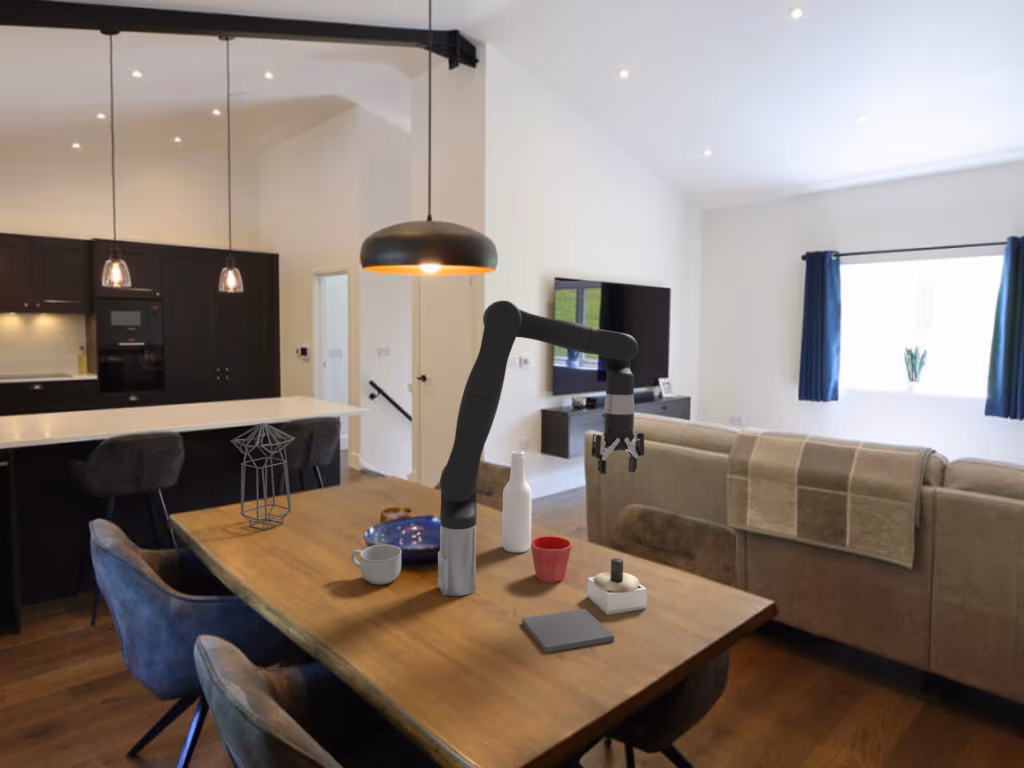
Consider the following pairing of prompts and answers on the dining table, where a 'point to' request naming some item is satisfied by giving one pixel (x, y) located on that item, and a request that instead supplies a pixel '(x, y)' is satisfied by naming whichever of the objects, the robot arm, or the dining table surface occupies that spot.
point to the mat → (567, 630)
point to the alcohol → (517, 508)
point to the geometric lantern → (234, 441)
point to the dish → (616, 599)
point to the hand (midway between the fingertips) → (617, 472)
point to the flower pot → (550, 557)
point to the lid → (616, 579)
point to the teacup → (379, 563)
